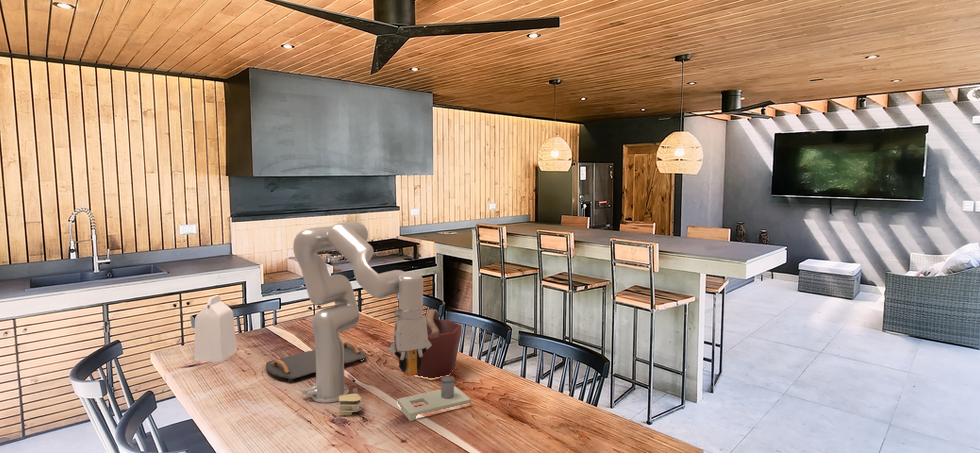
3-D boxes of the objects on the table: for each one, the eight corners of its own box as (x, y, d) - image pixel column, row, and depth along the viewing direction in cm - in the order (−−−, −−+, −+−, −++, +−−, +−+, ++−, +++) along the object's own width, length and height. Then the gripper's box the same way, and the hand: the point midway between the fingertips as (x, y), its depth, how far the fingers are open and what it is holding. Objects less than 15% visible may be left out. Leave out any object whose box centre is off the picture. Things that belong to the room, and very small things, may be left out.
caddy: (410, 421, 159) (410, 394, 158) (397, 406, 169) (397, 381, 169) (470, 406, 170) (471, 381, 169) (455, 392, 180) (455, 369, 180)
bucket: (449, 387, 185) (449, 321, 183) (393, 381, 190) (393, 317, 187) (465, 363, 209) (466, 305, 207) (415, 358, 214) (415, 301, 211)
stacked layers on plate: (333, 421, 159) (333, 405, 158) (334, 409, 167) (334, 393, 167) (366, 418, 161) (366, 401, 161) (365, 406, 170) (365, 390, 169)
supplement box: (410, 371, 161) (410, 341, 160) (417, 374, 159) (417, 344, 158) (402, 374, 159) (402, 343, 157) (409, 377, 156) (409, 346, 155)
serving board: (283, 387, 184) (283, 371, 183) (258, 370, 199) (257, 355, 199) (373, 361, 212) (373, 346, 211) (344, 347, 227) (344, 334, 227)
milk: (221, 361, 207) (219, 300, 204) (194, 361, 207) (191, 299, 205) (237, 351, 219) (235, 293, 216) (211, 351, 219) (208, 293, 217)
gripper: (388, 319, 149) (387, 378, 151) (440, 313, 157) (439, 369, 159) (381, 313, 156) (380, 369, 158) (431, 307, 164) (430, 361, 166)
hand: (410, 368), depth 159 cm, fingers closed on supplement box, 4 cm apart
